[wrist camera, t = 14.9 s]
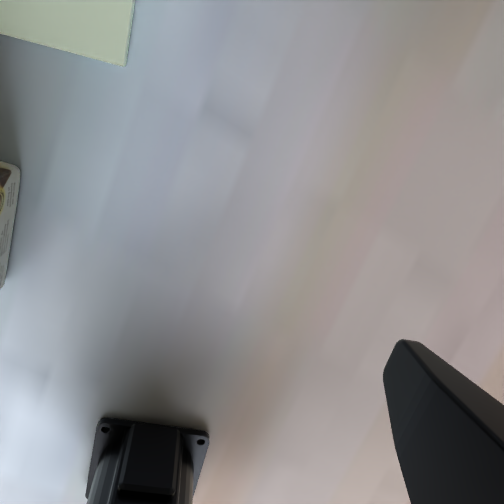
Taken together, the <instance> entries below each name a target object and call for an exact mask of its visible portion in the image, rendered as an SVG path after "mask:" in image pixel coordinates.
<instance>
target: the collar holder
mask: <svg viewBox="0 0 504 504" xmlns="http://www.w3.org/2000/svg"><path fill="white" fill-rule="evenodd" d="M134 5H135V0H0V34H3V35H7V36H11V37H14V38H18V39H22V40H25V41H29V42H33V43H37V44H40V45H44V46H48V47H52V48H55V49H59V50H63V51H66V52H70V53H74V54H78V55H81V56H85V57H89V58H92V59H96V60H100V61H104V62H107V63H111V64H115V65H118V66H122V67H124V66H126V62H127V55H128V48H129V40H130V33H131V26H132V19H133V12H134Z"/></svg>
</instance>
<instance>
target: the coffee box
mask: <svg viewBox="0 0 504 504" xmlns="http://www.w3.org/2000/svg"><path fill="white" fill-rule="evenodd" d="M20 174H21V172H20V170H19V169H18V168H17V167H16V166H15V165H12V164H9V163H5V162H2V161H0V289H1V288H2V287H3V285H4V283H5V277H6V271H7V265H8V257H9V252H10V246H11V239H12V232H13V226H14V219H15V213H16V207H17V199H18V192H19V185H20Z"/></svg>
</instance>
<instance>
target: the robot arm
mask: <svg viewBox="0 0 504 504" xmlns="http://www.w3.org/2000/svg"><path fill="white" fill-rule="evenodd" d="M383 383H384V388H385V394H386V400H387V405H388V411H389V417H390V423H391V428H392V434H393V439H394V444H395V449H396V452H397V456H398V460H399V463H400V467H401V470H402V474H403V477H404V481H405V484H406V488H407V491H408V495H409V498H410V502H411V504H504V405H503V404H501V403H500V402H499V401H497V400H496V399H495V398H493V397H492V396H491V395H489V394H488V393H487V392H485V391H484V390H483V389H481V388H480V387H479V386H477V385H476V384H475V383H473V382H472V381H471V380H469V379H468V378H467V377H465V376H464V375H463V374H461V373H460V372H459V371H457V370H456V369H455V368H453V367H452V366H451V365H449V364H448V363H447V362H445V361H444V360H443V359H441V358H440V357H439V356H437V355H436V354H435V353H433V352H432V351H431V350H429V349H428V348H427V347H425V346H424V345H423V344H421V343H420V342H417V341H411V340H404V339H401V340H399V341H398V342H397V343H396V345H395V347H394V349H393V351H392V353H391V355H390V357H389V359H388V362H387V364H386V366H385V368H384V372H383ZM105 426H106V427H109V428H106V427H105ZM199 439H203V440H199ZM208 445H209V434H208V433H207V432H206V431H201V430H194V429H187V428H179V427H172V426H164V425H157V424H149V423H142V422H134V421H127V420H120V419H112V418H103V419H101V420H100V421H99V422H98V425H97V428H96V434H95V440H94V446H93V452H92V458H91V465H90V471H89V477H88V483H87V489H86V498H87V499H88V501H87V504H192V500H193V495H194V492H195V489H196V485H197V482H198V479H199V475H200V472H201V469H202V465H203V462H204V459H205V455H206V452H207V449H208Z"/></svg>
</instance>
